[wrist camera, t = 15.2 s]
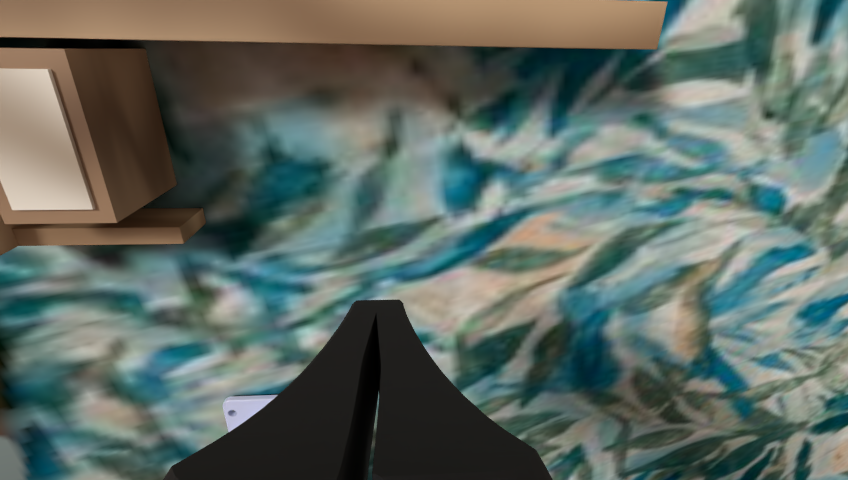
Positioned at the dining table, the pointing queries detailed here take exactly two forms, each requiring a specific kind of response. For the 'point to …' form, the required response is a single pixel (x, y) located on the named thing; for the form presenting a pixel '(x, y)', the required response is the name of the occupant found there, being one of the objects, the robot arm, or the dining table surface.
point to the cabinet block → (79, 135)
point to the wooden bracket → (313, 24)
